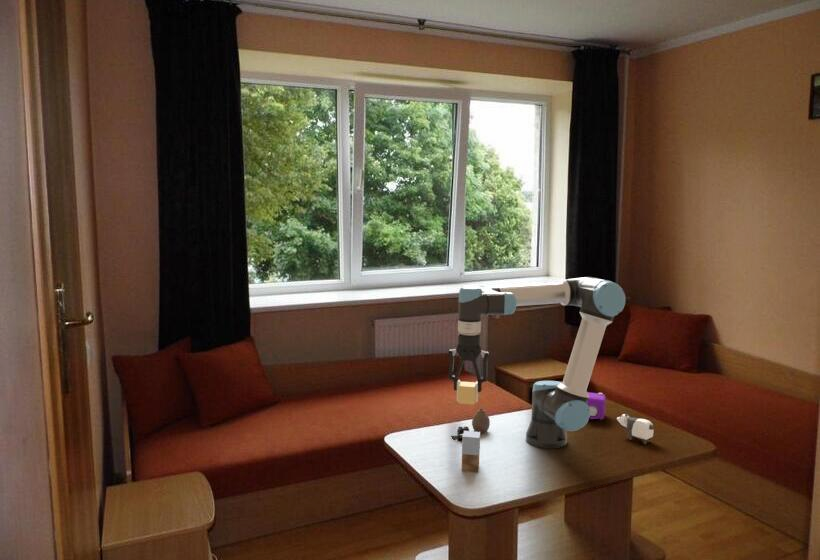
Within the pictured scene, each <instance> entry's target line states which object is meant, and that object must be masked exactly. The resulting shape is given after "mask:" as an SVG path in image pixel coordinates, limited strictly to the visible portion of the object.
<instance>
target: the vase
mask: <svg viewBox="0 0 820 560" xmlns="http://www.w3.org/2000/svg"><path fill="white" fill-rule="evenodd" d="M471 419H472V420H471V426H472V429H473V431H474V432H480V434H485V433H486V432H487V431H488V430H489V428H490V425H491V423H490V418H489V416H488V414H487V413H486V410H485V409H483V408H479V409H477V411H476V413H475V414H474V415H473V417H472V418H471Z"/></svg>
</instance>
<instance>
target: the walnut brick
mask: <svg viewBox="0 0 820 560" xmlns="http://www.w3.org/2000/svg"><path fill="white" fill-rule="evenodd" d="M480 451H481V449H480V450H479V455H469V454H462V453H461V471H462V472H471V473H478V472H479V469H480Z"/></svg>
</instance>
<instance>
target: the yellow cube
mask: <svg viewBox="0 0 820 560" xmlns="http://www.w3.org/2000/svg"><path fill="white" fill-rule="evenodd" d="M475 384H476V381H461V380H460V384H459V386H458V401H457V403H458V404H461V405H475V404H476V402H475Z"/></svg>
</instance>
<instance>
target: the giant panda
mask: <svg viewBox="0 0 820 560" xmlns="http://www.w3.org/2000/svg"><path fill="white" fill-rule="evenodd" d="M616 420H617V422H618V423H619V424H620V425H621V426H623V427H625V428H626V430H627V431H626V436H627V437H629V438H633V436H635V437H637V438H639V439H641V441H644V442H648V440H651V439H652V440H653V437H654V428H655V427H654V423H652V422H651V421H650V420H648V419H645V418H638V417H633V416H632V417H631V416H630V415H629V412H627V413H623V414H622V415H621V416H618V417H617V416H616ZM627 437H626V438H627ZM633 439H634V438H633Z"/></svg>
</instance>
